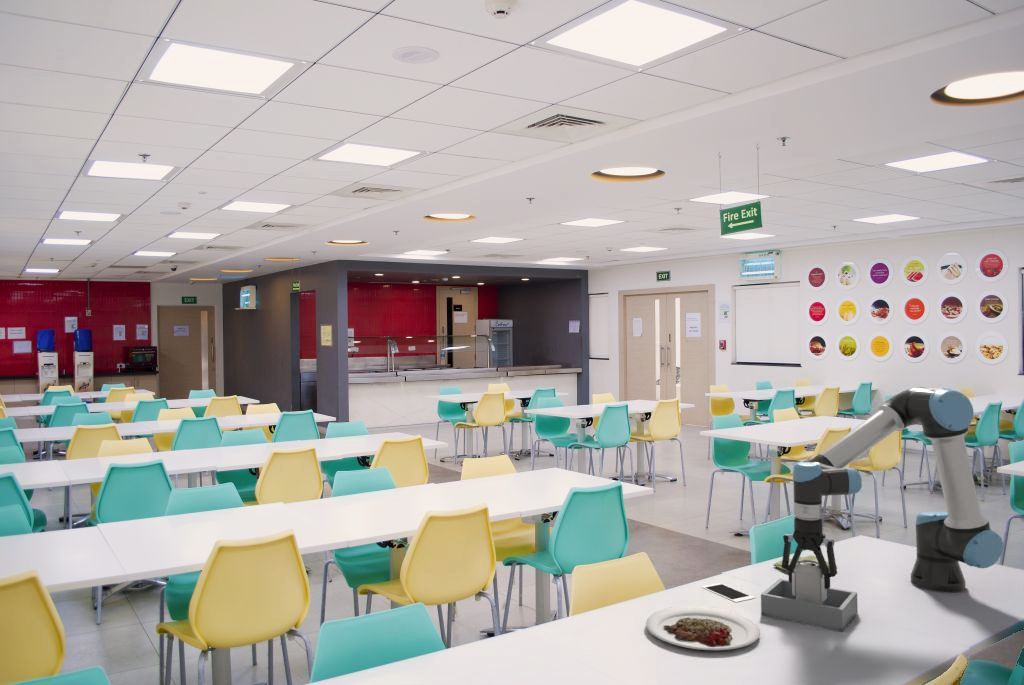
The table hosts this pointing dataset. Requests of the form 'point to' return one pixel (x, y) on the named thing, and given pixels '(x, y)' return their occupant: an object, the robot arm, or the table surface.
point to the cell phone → (728, 592)
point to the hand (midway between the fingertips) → (809, 596)
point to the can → (808, 581)
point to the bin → (809, 607)
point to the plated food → (703, 628)
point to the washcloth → (810, 557)
